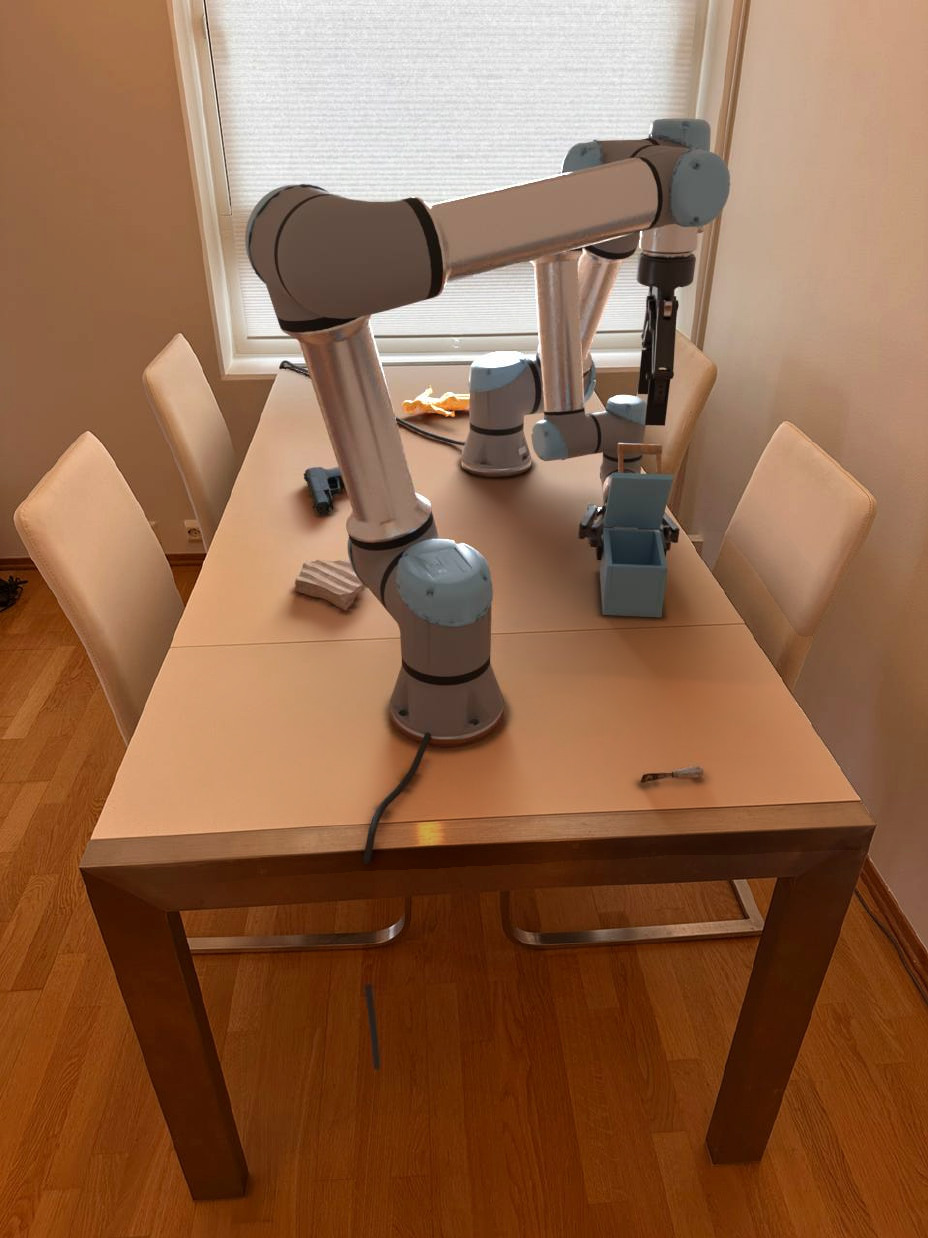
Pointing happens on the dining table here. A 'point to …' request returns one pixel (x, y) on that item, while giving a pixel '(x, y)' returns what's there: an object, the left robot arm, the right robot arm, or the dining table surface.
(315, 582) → the stone
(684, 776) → the putty knife
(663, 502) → the lid
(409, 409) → the human figure
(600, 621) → the dining table surface
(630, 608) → the chest
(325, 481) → the handgun
